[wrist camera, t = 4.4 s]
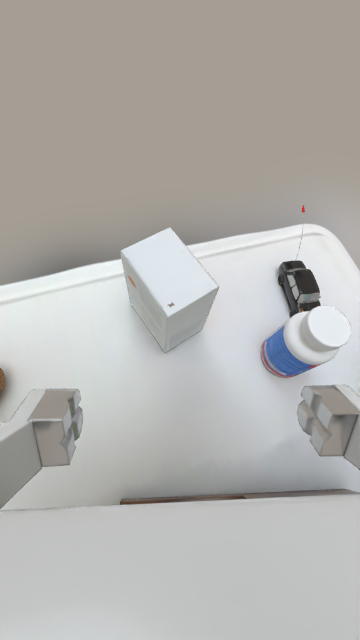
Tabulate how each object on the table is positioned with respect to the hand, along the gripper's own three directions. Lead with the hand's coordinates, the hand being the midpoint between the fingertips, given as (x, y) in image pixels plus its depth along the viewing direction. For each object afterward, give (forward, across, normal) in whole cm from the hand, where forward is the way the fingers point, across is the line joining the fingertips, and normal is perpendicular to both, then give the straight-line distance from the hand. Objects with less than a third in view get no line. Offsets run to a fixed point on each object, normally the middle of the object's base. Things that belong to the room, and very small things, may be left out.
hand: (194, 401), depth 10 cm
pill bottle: (+20, -14, +10) cm, 26 cm away
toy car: (+27, -17, +3) cm, 32 cm away
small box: (+24, 0, +6) cm, 24 cm away
